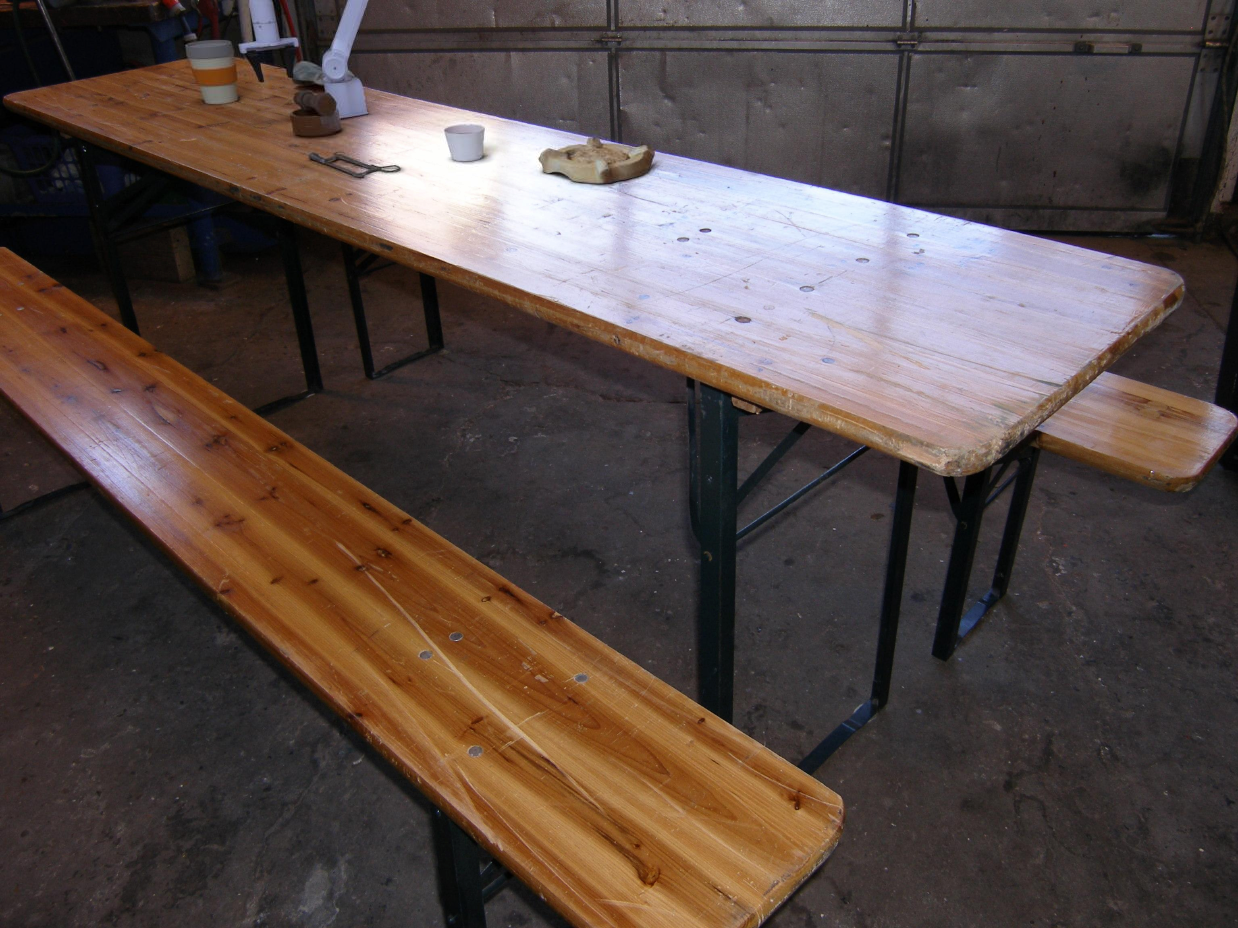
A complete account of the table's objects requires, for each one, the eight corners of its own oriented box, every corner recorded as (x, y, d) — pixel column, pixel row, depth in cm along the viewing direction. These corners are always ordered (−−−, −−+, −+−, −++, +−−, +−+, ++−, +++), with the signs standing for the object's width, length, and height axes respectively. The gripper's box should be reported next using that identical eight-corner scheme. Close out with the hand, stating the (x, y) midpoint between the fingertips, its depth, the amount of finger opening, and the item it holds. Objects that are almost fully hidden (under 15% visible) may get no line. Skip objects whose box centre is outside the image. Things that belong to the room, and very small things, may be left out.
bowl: (330, 124, 248) (326, 104, 245) (349, 132, 240) (345, 112, 237) (286, 131, 242) (282, 111, 240) (304, 140, 234) (300, 119, 232)
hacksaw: (306, 159, 220) (305, 153, 219) (346, 150, 226) (345, 144, 225) (363, 180, 205) (361, 173, 204) (404, 170, 211) (403, 163, 210)
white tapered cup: (471, 150, 224) (468, 122, 220) (495, 157, 218) (492, 128, 215) (439, 158, 218) (435, 129, 215) (463, 165, 213) (460, 136, 210)
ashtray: (571, 192, 195) (570, 167, 192) (526, 164, 213) (524, 141, 210) (673, 174, 204) (673, 150, 201) (621, 149, 222) (620, 127, 219)
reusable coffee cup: (253, 98, 276) (241, 42, 268) (217, 107, 267) (204, 49, 259) (225, 94, 282) (212, 39, 274) (188, 102, 273) (174, 45, 265)
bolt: (304, 113, 245) (332, 121, 235) (286, 106, 241) (313, 113, 231) (310, 90, 244) (339, 97, 234) (292, 82, 240) (320, 89, 230)
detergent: (285, 87, 287) (333, 97, 272) (282, 62, 284) (329, 70, 269) (324, 84, 296) (372, 93, 281) (321, 59, 292) (369, 66, 278)
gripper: (241, 27, 234) (253, 86, 242) (298, 21, 242) (309, 78, 249) (231, 24, 239) (244, 82, 246) (288, 18, 246) (298, 74, 254)
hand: (276, 80), depth 248 cm, fingers open, 7 cm apart
